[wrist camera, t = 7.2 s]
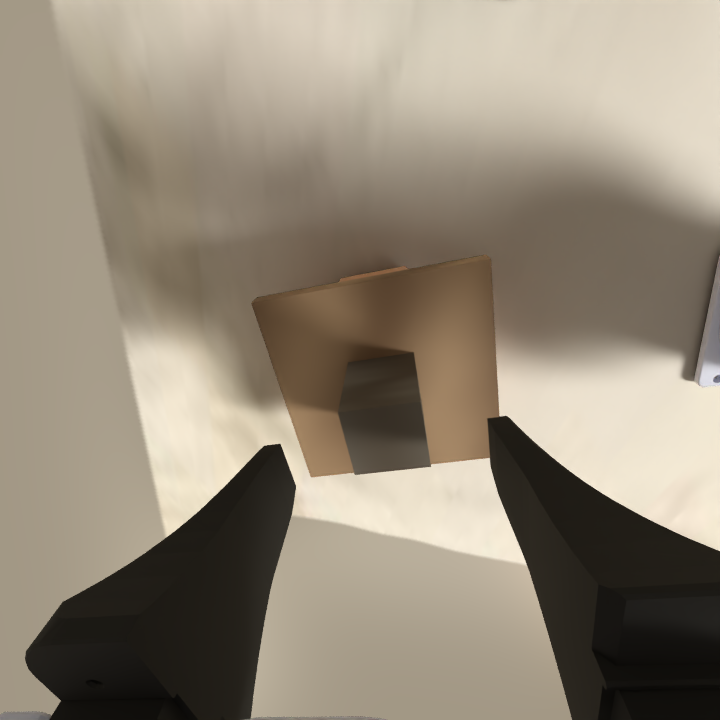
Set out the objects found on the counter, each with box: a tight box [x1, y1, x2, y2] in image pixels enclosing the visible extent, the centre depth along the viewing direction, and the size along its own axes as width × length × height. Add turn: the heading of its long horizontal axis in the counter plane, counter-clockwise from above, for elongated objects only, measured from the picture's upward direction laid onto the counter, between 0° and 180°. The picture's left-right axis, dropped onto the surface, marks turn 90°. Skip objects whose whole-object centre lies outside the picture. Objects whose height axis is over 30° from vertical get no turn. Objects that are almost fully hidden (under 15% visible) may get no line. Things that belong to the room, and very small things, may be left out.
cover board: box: [252, 255, 499, 477], centre depth 16 cm, size 10×10×5 cm
